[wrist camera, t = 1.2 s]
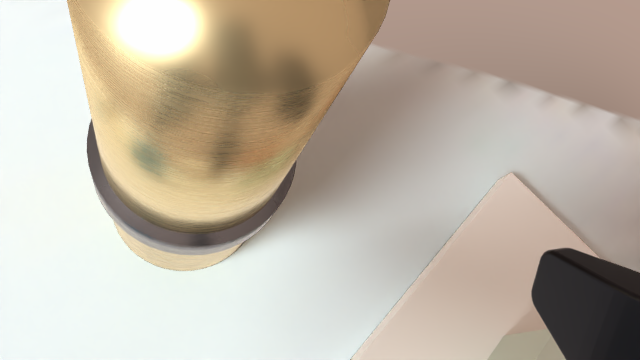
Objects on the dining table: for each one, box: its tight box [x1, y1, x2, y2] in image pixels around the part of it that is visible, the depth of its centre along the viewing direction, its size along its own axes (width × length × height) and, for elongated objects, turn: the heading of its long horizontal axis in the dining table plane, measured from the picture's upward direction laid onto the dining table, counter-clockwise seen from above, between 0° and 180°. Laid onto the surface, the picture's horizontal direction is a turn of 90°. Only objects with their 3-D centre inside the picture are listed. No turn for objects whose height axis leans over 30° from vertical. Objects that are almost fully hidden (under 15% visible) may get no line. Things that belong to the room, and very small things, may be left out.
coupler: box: [67, 0, 390, 271], centre depth 15 cm, size 6×6×13 cm
